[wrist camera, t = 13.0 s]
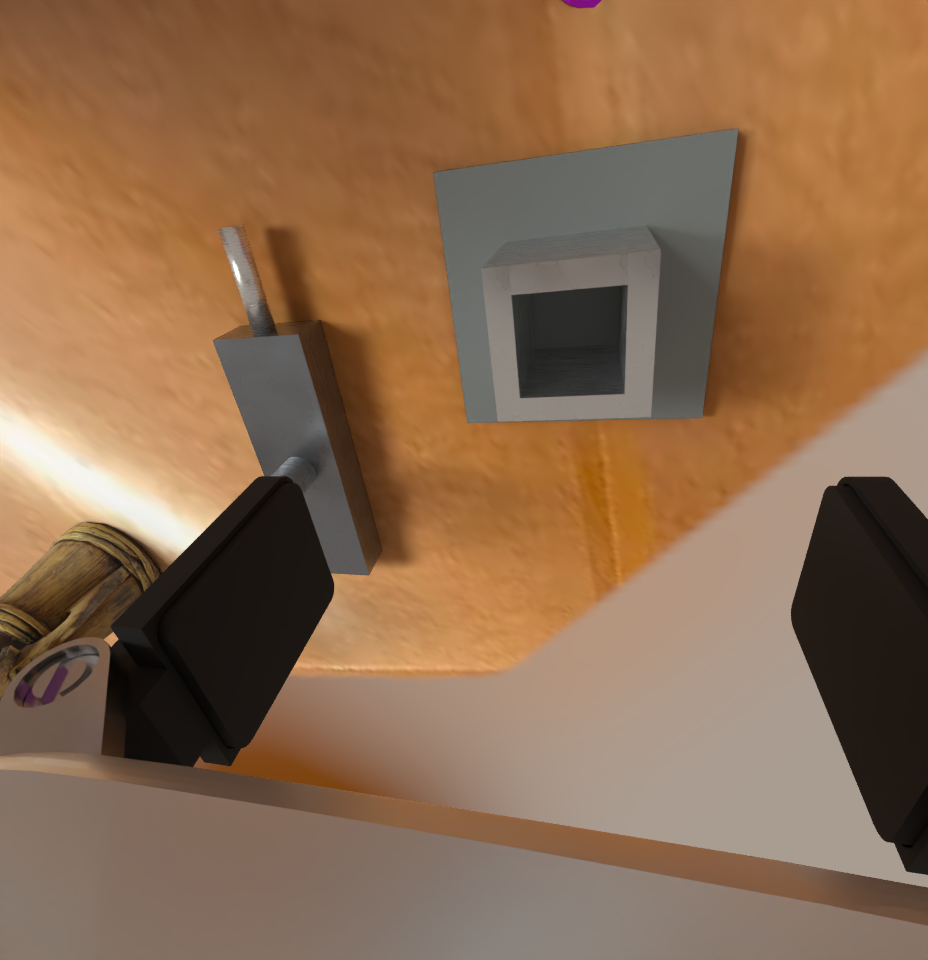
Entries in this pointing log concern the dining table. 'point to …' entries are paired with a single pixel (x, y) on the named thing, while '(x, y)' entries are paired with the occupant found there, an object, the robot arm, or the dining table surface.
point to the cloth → (582, 3)
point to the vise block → (297, 415)
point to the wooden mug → (71, 594)
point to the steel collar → (580, 369)
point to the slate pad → (587, 208)
